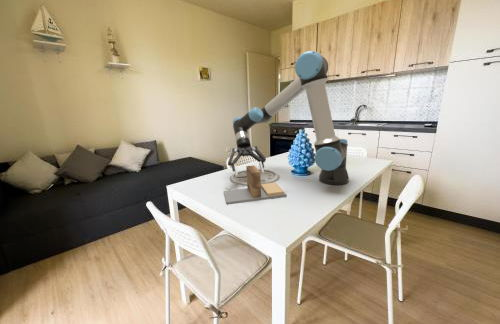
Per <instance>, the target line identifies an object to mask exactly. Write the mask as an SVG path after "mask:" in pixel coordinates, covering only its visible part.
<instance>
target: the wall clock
mask: <svg viewBox="0 0 500 324" xmlns="http://www.w3.org/2000/svg"><path fill="white" fill-rule="evenodd" d="M257 169H258V170H259V171H260V178H261V184H267V183H275V182H276V183H277V182H278V181H279V179H280V175H279V174H278V173H276V172H274V171H271V170H268V169H263V171H264V173H263V175H262V174H261V170H260V168H257ZM229 182H231V183H232V184H235V185H237V186H244V187H247V170H246V169H245V170H241V171H237V177H236V176H235V173H233V174H232V175H231V176H230V177H229Z"/></svg>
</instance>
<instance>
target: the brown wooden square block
mask: <svg viewBox="0 0 500 324" xmlns="http://www.w3.org/2000/svg"><path fill="white" fill-rule="evenodd" d="M245 168H246V169H245V170H247V186H246V188H247V189H248V191H249V192H250V194H251V196H252V198H257V197H261V178H260V171H259V170H258V169H259V168H257V167H256V166H255V165H246V167H245Z"/></svg>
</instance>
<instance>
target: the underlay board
mask: <svg viewBox="0 0 500 324" xmlns="http://www.w3.org/2000/svg"><path fill="white" fill-rule="evenodd" d="M223 195H224V199H225V203H226V205H232V204H241V203H247V202H248V203H250V202H257V201H263V200H265V201H266V200H270V199H272V200H273V199H280V198H286V197H287V196H288V194H287V193H286V192H285V191H284V189H282V187H280V185H279V184H277V181H276V182H274V183H267V184H261V197H257V198H252V196H251V194H250V192H249V191H248V189H247V187H246V188H245V187H244V188H236V189H230V190H223Z"/></svg>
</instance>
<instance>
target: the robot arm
mask: <svg viewBox="0 0 500 324" xmlns="http://www.w3.org/2000/svg"><path fill="white" fill-rule="evenodd" d="M294 71H295V74H296V76H297V78H295V79H294V80H293V81H292V82H290V84H288V85H287V86H286V87H284V88H283V89H282V91H280V92H279V93H278V94H276V96H274V97H273V98H272V99H270V101H269V102H267V104H266V105H264V106H263V107H262V108H259V107H258V106H255V107H253V108H251V109H249V110H248V112H247V113H246V114H244V115H243V116H237V117H235V118H234V119H233V121H232V127H233V128H232V129H233V132H234V137H235V142H236V146H237V148H235V147H232V149H231V154H230V156H229V159H228V161H227V165H228V166H230V167H231V169H232V172H234V174H235V176H236V177H237V172H238V170H237V166H236V164H237V162H238V160H239V159H240V158H241V157H249V156H250V157H252V158H253V159H254V160H255V161H257V162H258V166H259V169H260V170H261V174H262V175H263V173H264V171H263V170H264V168H265V164H264V163H266V161H267V158H266V157H265V156H264V154H263V153H262V152H261V151H260V150H259V148H258V146H254V147H252V145H251V141H250V136H249V131H248V130H250V129H251V128H252V127H253V126H255V125H259V124H263V123H264V124H265V123H268V122H270V121H271V119H272V117H274V116H275V115H276V114H277V113H278V112H280V111H281V110H282V109H283V108H284V107H286V106H287V105H289V104H290V103H292V101H293V100H295V98H297V97H298V96H299V95H301V94H302V93H303V92H304V91H305V93H306V98H307V101H308V107H309V111H310V112H309V113H310V116H311V121H312V125H313V129H314V135H315V139H316V140H315V142H313V144H314V150H315V153H314V162H315V164H316V166H317V167H318V168H320V169H321V170H320V172H319V175H318V181H319V182H321V183H322V184H327V185H332V186H333V185H334V186H340V185H341V186H342V185H346V184H348V183H349V180H350V178H349V173H348V171H347V159H348V158H347V156H348V155H347V154H348V140H347V139H345V138H339V137H337V135H336V132H335V127H334V122H333V119H332V118H333V117H332V113H331V112H332V111H331V108H330V101H329V99H328V93H327V89H326V83H327V81H328V76H327V74H328V71H329V63H328V60H327V59H326V58H325V57H324V56H323V55H322V54H320V53H319V52H317V51H315V50H307V51H305V52H302V53H301V54H300V55H299V56H298V57H297V58H296V61H295V64H294ZM254 152H255V153H254ZM236 153H238V154H237V155H236V156H235V154H236ZM234 156H235V158H234Z"/></svg>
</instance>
